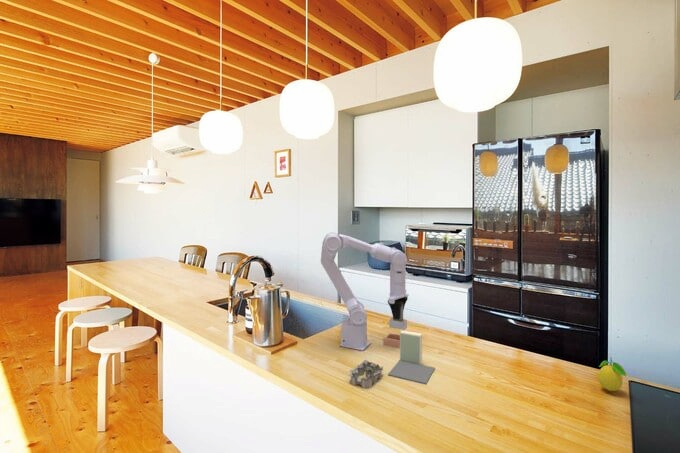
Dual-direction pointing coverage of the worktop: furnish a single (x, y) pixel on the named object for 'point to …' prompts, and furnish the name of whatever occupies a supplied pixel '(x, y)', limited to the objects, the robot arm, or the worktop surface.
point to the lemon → (611, 376)
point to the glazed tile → (411, 347)
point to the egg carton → (371, 373)
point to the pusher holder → (392, 340)
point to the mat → (412, 372)
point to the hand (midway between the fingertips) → (397, 317)
